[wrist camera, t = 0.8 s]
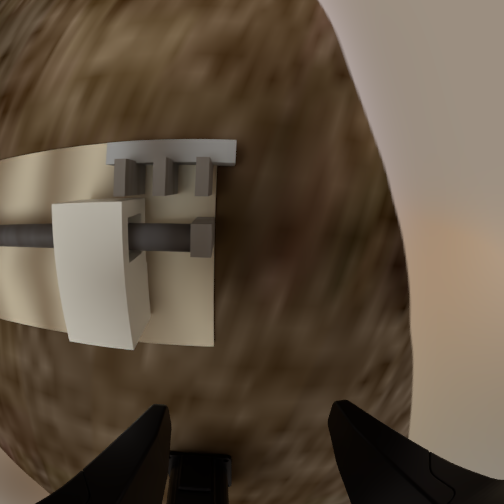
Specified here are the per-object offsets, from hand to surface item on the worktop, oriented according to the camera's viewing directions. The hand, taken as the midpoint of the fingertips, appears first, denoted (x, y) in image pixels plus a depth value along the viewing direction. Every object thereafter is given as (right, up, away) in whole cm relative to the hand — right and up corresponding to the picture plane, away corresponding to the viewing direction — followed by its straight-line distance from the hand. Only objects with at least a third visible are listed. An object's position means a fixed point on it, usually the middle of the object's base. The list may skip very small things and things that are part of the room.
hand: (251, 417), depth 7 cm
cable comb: (-14, +5, +9) cm, 17 cm away
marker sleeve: (-8, +4, +9) cm, 13 cm away
